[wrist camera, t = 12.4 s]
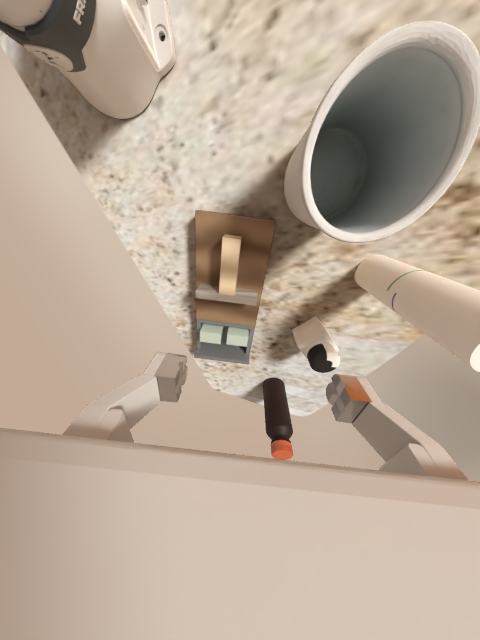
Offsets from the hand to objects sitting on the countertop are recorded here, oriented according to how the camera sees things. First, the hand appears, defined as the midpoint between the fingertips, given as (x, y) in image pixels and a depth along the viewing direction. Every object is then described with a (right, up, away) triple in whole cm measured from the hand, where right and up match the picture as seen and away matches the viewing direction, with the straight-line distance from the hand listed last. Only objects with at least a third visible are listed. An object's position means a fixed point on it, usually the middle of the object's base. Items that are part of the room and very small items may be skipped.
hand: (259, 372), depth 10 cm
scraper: (-3, +13, +26) cm, 30 cm away
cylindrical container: (+27, +13, +29) cm, 42 cm away
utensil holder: (+13, +27, +22) cm, 37 cm away
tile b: (-1, +1, +35) cm, 35 cm away
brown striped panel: (-3, +14, +31) cm, 34 cm away
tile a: (-8, +1, +35) cm, 36 cm away
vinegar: (+10, -18, +50) cm, 54 cm away
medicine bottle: (+17, 0, +38) cm, 42 cm away
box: (-5, 0, +39) cm, 40 cm away
